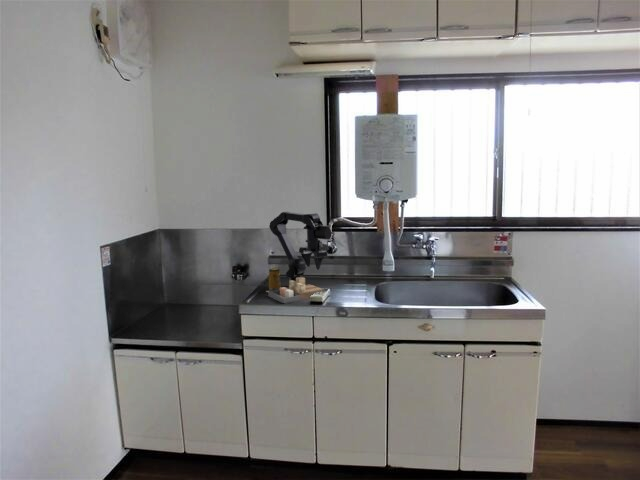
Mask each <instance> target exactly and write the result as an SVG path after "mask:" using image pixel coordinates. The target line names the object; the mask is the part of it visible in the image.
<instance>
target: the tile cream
mask: <svg viewBox="0 0 640 480" xmlns="http://www.w3.org/2000/svg"><path fill="white" fill-rule="evenodd" d="M292 296H293V290H290V289H287V290H285V298H286V297H292Z"/></svg>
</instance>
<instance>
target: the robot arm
mask: <svg viewBox="0 0 640 480" xmlns="http://www.w3.org/2000/svg"><path fill="white" fill-rule="evenodd" d="M289 221H295V222H300V223H302V224H303V225H305V226H304V227H303V230H306V239H305V243H306V246H300V247H299V248H298V249H299V250H298V251H299V252H298V253H300V255H301V257H299V256H297V253H296V251H295V250H294V247H293V245H292V242H291V241H290V239H289V237H288V235H287V224H288V223H289ZM268 228H269V230H270V232H272V234H273V235H274V236H276V237H277V238H278V240H279V242H280V245H281V247H282V249H283V251H284V253H285V255H286V257H287V260H288V269H287V271H286V272H285V275H286V278H289V280H293V281H296V278H298V277H302V276H304V275H305V271H306V268H307V267H308V268H309V267H310V266H311V257H312V255H313V261H314V265H315V268H316V270H317V271H318V270H320V267H321V265H322V262H323V260H324V259H325V258H326V257H328V249H329V245H328V244H324V243H323V242H322V241H321V240H327V241H328V240H331V237H332V235H333V233H332V230H331V228H330V226H329V225H324V223H323V221H322V219H321V218H320V215H319V213H317V212H316V213H315V212H314V213H306V214H305V213H297V212H292V211H282V212H280V214H278V216H276V217H274V219H272V220H271V221H270V223H269V227H268ZM287 288H289V285H287Z"/></svg>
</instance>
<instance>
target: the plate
mask: <svg viewBox="0 0 640 480" xmlns="http://www.w3.org/2000/svg"><path fill="white" fill-rule="evenodd" d="M287 288H288V289H290V288H289V287H287ZM290 290H292V289H290ZM321 291H325V289H324V288H321V287H318V286H316V285H313V284H309V283H308V284H305V290H304V293H300V292H297V291H295V290H293V293H295V294H298V295H300V297H301V301H302V300H307V299H311V298H310V296H311V295H313V294H314V293H316V292H321Z"/></svg>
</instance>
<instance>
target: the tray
mask: <svg viewBox="0 0 640 480" xmlns="http://www.w3.org/2000/svg"><path fill="white" fill-rule="evenodd" d="M268 291H269V290H268ZM268 297H269V298H271V299H273V300H275V301H276V302H277V301H278V302H279V303H282V304H283V303H285V304H290V302H291V303H295V302H300V301H302V300H301V297H300V295H298V294H295V293H293V296H292V297H286V298H285V297H282V296H280V290H275V291H269V293H268Z"/></svg>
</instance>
